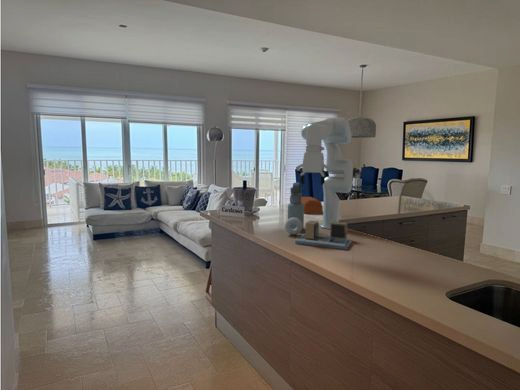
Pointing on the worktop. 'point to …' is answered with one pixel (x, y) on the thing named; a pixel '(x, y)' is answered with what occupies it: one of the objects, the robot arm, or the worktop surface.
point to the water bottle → (296, 205)
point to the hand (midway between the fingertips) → (312, 184)
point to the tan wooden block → (338, 229)
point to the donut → (297, 229)
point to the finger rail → (321, 238)
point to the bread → (311, 205)
